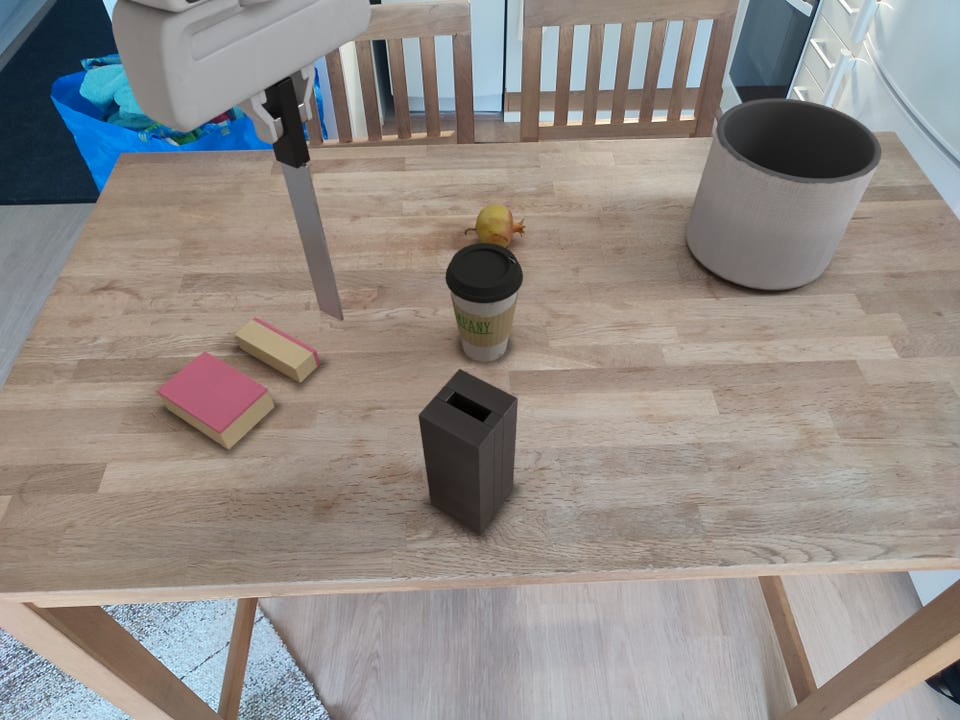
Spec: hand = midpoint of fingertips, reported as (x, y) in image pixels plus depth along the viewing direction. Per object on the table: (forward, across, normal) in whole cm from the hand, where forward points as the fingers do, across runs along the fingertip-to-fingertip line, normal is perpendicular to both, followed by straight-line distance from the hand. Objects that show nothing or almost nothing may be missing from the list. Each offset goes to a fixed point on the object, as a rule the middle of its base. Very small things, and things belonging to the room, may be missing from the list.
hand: (285, 130), depth 52 cm
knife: (+21, 0, 0) cm, 21 cm away
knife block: (+42, 0, +17) cm, 45 cm away
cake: (+42, +7, -18) cm, 46 cm away
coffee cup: (+42, -21, +5) cm, 47 cm away
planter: (+41, -62, +31) cm, 80 cm away
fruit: (+42, -41, -5) cm, 59 cm away
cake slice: (+40, -2, -18) cm, 44 cm away
